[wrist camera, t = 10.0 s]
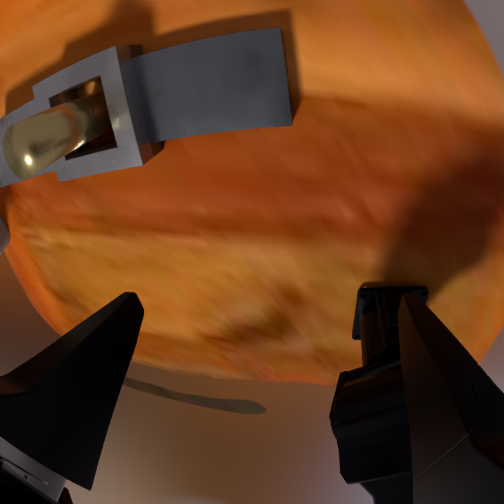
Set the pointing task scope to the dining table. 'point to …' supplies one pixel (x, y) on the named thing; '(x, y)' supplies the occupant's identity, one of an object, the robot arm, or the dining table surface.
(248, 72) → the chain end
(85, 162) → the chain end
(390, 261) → the dining table surface
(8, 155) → the brass pin
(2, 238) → the house plant
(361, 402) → the robot arm
